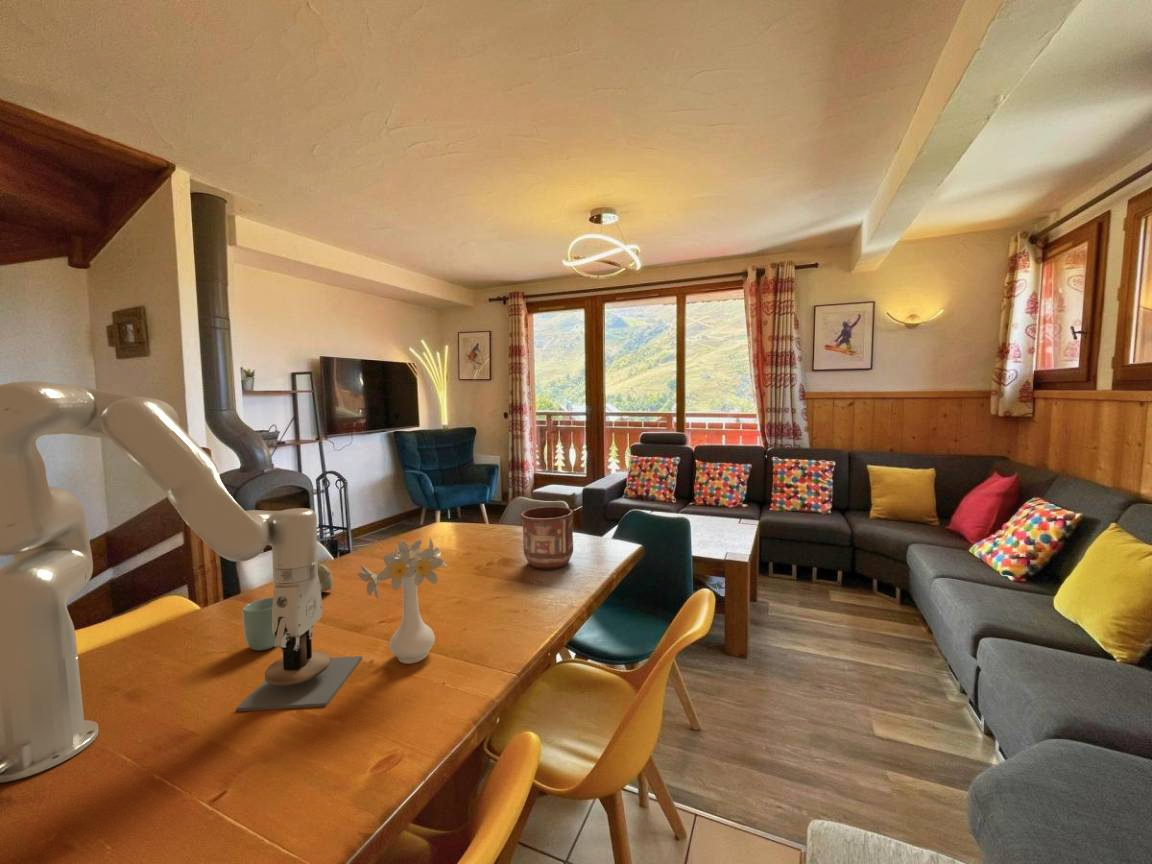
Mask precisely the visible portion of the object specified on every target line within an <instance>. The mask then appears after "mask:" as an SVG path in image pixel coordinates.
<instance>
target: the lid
mask: <svg viewBox="0 0 1152 864" xmlns="http://www.w3.org/2000/svg"><path fill="white" fill-rule="evenodd" d="M288 640H291V641H292V642H293V638H288ZM299 648H301V653H302V668H301V669H300V670H284V669H283V657H282V658H279V659H278V660H276V661H274V662H273V663H272V664H270V665H269V666H268V667H267V668H266V669H265V671H264V681H265V680H266V682H267V683H269V684H272V685H291V684H296V683H300V682H303V681H306V680H309V679H311V678H313V677H315V676H317V675H319V674H320V673H322V672H323V671H324V670H325V669H326V668H327V667H328V666H329V663H330V660H329V658H330V656H329V654H328V653H326V652H324V651H319V650H312V657H311V658H310V659H309V660H307V652H306V633H304V634H303V635H301V636H300V637H299Z"/></svg>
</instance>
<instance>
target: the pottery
mask: <svg viewBox="0 0 1152 864" xmlns="http://www.w3.org/2000/svg"><path fill="white" fill-rule="evenodd" d="M573 515H574V512H573V510H572V509H570V508H568V507H565V506H553V505H552V506H550V505H549V506H539V507H533V508H529V509H527V510H523V511H522V513H520V519H521V520H520V521H521V525H522V533H523V534H522V535H523V541H522V543H523V549H522V550H523V554H524V557H525V559H526V561H527V563H528V564H529V565H531V567H533V568H535V570H536V569H537V570H541V571H543V570H544V571H550V570H551V571H552V570H553V571H554V570H558V569H561V568H563V567H565V566H566V565H567V564H568V563H569V562H570V560H571V558H572V555H573V552H574V536H573V534H574V533H573V531H574V530H573V529H574V528H573V523H574V520H573V519H574V518H573V517H574V516H573Z"/></svg>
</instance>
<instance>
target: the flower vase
mask: <svg viewBox="0 0 1152 864" xmlns="http://www.w3.org/2000/svg"><path fill="white" fill-rule="evenodd" d="M428 539H429V543H428V544H429V547H428V548H425V549H424V550H423V551H420V550H419V549H420V547H421V545H422V540H419V539H418V540H416V541H414V542H413V544H411V546H409V544H408V543H407V542H406V541H404V540H400V541H399V542H398V543H397V546H396V548H395V551H391V554H388V553H387V554H384V555H383V563H384V564H385V566H386V567H384V569H383V570H382V571H380V572H379V573H378V574H377V573H374V572H372V571H371V570H369V569H368V568H367V567H366V566H364V565H363V564H361V565H360V567H361V570H362V571H363V572H358V573H357V574H358V577H359V578H360V579H361V580H362V581H364V582H368V583H367V584H366V593H367V595H368V596H371V595H372V594H373V592H374V596H375V597H376V599H377V600H379V598H380V597H379V585H380V584H379V583H380V582H381V581H387V580H390V579H391V582H390V583H391V588H392V590H393V591H398V590H399V588H400V587H401V588H402V616H401V617H402V618H401V622H400V624H399V627H398V628H397V630H396V631H395V632H394V633H393V635H392V637H391V638H390V641H389V651H390V653H391V654H392V655H393V656H394V657H396V658H397V660H398V661H399V662H400V663H401V664H404V665H405V664H407V665H408V664H409V665H410V664H416V663H419V662H421V661H424V660H425V659H426V657H427V656H428V654H429V651H430V650H431V649H432V648H433V646H434V644H435V641H436V637H435V633H434V631H433V630H432V628H431V627H430V626H429V625H428V624H426V623H425V622H424V620H423V619H422V617H421V613H420V608H419V598H418V586H419V585H421V584H422V583H423V581H424V579H426V580H427V581H428V582H430V583H431V584H436V583H438V577H437V574H436V573H435V571H433V570H436V569H438V568H439V567H441V566H445V567H448V565H447V564H446V561H444V560H443V559H442V558H441V555H442V551H441V550H440V548H438V547H434V542H433V541H432V538H431V537H429V538H428ZM408 565H409V566H408Z"/></svg>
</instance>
